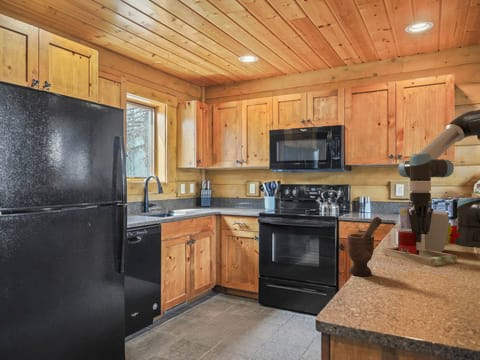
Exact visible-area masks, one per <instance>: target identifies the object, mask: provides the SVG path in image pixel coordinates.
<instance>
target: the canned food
mask: <svg viewBox="0 0 480 360" xmlns="http://www.w3.org/2000/svg"><path fill="white" fill-rule="evenodd" d="M397 247H398V251H401V252H405V253H406V252H409V253H410V254H415V255H419V250H416V234H414V233H413V232H412V230H411V229H400V228H398V229H397ZM419 256H420V255H419Z"/></svg>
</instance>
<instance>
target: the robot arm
mask: <svg viewBox="0 0 480 360" xmlns="http://www.w3.org/2000/svg"><path fill="white" fill-rule="evenodd" d="M474 136H476V137H477V140H478V141H479V142H480V109H475V110H470V111H466V112H465V113H462V114H461V115H459V116H457V117H455V118H454V119H453V120H452V121H450V122H449V123H447V125H446V126H445V127H444V128H443V131H442V132H441V133H440V134H438V135H437V136H436V137H435V138H434V139H433V140H431V142H429V143H428V144H427V145H426V146H424V148H422V150H420V151H419V152H418V153H414V154H413V153H412V154H411V155H410V157H409V160H405V161H402V162H400V163H399V164H398V167H397V169H398V170H397V171H398V173H399V175H400V177H403V178H409V188H410V189H409V191H410V193H409V201H410V202H411V203H412V204H411V207H412V208H411V209H408V210H407V212H408V214H409V219H410V224H411V230H412V232H413V233H414V234H416V250H420V251H425V234H428V233H427V232H429V230H430V223H431V217H432V213H433V210H434V208H431V207H430V205H429V202H431V201H432V193H431V191H432V181H431V180H432V178H442V179H443V178H448V177H451V176H452V174H453V173H454V169H455V166H454V164H453V162H452V161H451V160H449V159H444V158H442V159H441V158H440V157H441V156H442V155H444V154H445V153H446V152H447V151H448V150H449V149H450V148H451V147H452V146H453V145H455V144H456V143H458V142H461V141H463V140H464V139H465V138H468V137H474ZM439 158H440V159H439ZM456 209H457V214H456V215H457V218H456V219H457V232H458V233H459V238H456V237H455V243H454V245H458V246H459V245H460V246H464V247H473V248H474V247H476V248H480V196H478V197H464V198H463V197H462V198H459V199H458V200H457V206H456Z"/></svg>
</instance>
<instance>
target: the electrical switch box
mask: <svg viewBox="0 0 480 360" xmlns="http://www.w3.org/2000/svg"><path fill="white" fill-rule="evenodd" d="M448 213H449V212H447V211H443V210H437V209H433V213H432V217H431V223H430V230H429V232H427V233H428V234H425V249H426V250H429V249H430V250H432V251H437V252H442V253H443V251H444V250H445V247H446V246H448V243H449V244H450V245H455V237H456V238H459V233H458V232H457V228H458V225H455V224H453V225H452V223H451V222H450V219H449V214H448Z"/></svg>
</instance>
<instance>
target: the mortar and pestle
mask: <svg viewBox="0 0 480 360" xmlns="http://www.w3.org/2000/svg"><path fill="white" fill-rule="evenodd" d="M382 222H383V219H381V218H380V217H379V216H375V217H373V219H372V220H371V222H370V223H369V225H368V227H367V229H366V231H365V233H356V232H355V233H350V234H347V253H348V256H349V259H350V260H351V261H352V262H353V264H352V266H350V267H349V270H348V273H349V274H350V275H352V276H357V277H360V276H361V277H369V276H372V275H373V273H372V269H371V268H370V267H369V266H368V264H369V262H370V261H371V260H372V258H373V255H374V251H375V250H374V249H375V245H374V243H375V235H373V234H374V233H375V232H376V231H377V229H378V228H379V227H380V226H381V224H382Z"/></svg>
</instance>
